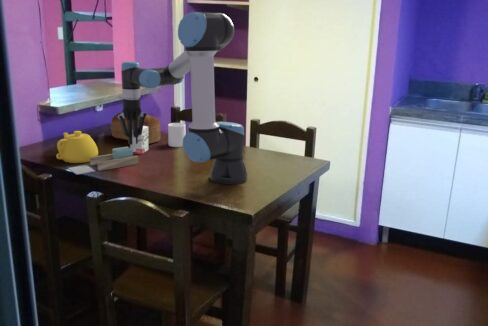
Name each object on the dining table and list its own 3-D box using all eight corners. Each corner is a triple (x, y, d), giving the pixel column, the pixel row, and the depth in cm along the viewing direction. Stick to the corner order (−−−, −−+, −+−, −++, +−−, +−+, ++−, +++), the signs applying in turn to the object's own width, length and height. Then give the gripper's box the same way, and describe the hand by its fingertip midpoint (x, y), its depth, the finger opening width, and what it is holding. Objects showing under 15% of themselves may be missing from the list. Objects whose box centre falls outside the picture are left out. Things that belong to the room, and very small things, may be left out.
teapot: (105, 159, 222) (104, 131, 219) (66, 167, 209) (64, 138, 205) (82, 150, 235) (80, 124, 232) (44, 157, 222) (41, 130, 218)
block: (133, 162, 217) (132, 149, 215) (118, 165, 213) (117, 151, 211) (127, 159, 221) (127, 146, 220) (113, 161, 217) (112, 148, 215)
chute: (138, 164, 217) (138, 156, 215) (99, 170, 206) (98, 162, 205) (128, 158, 224) (128, 151, 223) (90, 164, 213) (89, 157, 212)
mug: (192, 143, 254) (192, 122, 251) (179, 148, 244) (179, 127, 240) (178, 141, 257) (177, 120, 254) (165, 146, 247) (164, 125, 244)
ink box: (142, 154, 231) (141, 129, 228) (132, 153, 232) (131, 128, 229) (149, 149, 240) (148, 125, 236) (139, 148, 241) (138, 125, 237)
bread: (148, 146, 246) (148, 118, 242) (108, 138, 259) (106, 111, 255) (164, 141, 256) (163, 114, 251) (124, 133, 269) (123, 107, 265)
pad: (95, 171, 205) (95, 171, 205) (76, 174, 200) (76, 174, 200) (86, 165, 213) (86, 164, 212) (68, 168, 208) (68, 167, 208)
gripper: (141, 95, 219) (143, 147, 226) (113, 98, 211) (116, 151, 218) (149, 98, 213) (150, 151, 220) (120, 100, 206) (123, 155, 212)
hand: (133, 151), depth 219 cm, fingers closed
